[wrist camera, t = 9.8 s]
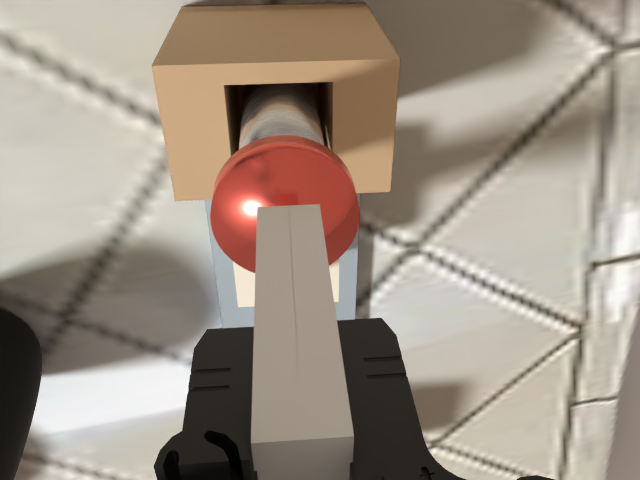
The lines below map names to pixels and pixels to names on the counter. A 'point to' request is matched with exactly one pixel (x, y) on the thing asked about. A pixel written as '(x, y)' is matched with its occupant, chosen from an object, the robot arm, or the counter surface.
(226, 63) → the rail
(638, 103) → the counter surface
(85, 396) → the counter surface
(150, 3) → the counter surface
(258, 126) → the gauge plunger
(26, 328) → the mug
